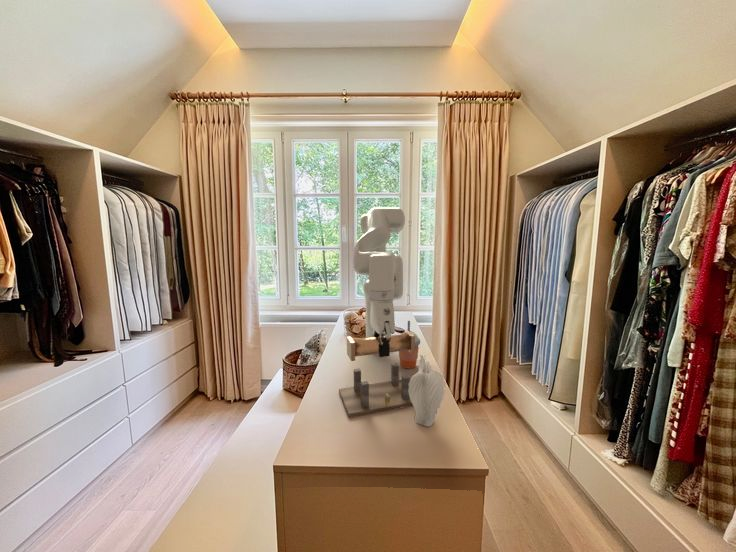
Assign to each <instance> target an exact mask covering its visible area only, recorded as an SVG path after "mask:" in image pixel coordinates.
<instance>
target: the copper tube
mask: <svg viewBox="0 0 736 552" xmlns="http://www.w3.org/2000/svg"><path fill="white" fill-rule="evenodd" d="M403 332H404V334H401V333H400V334H401V335H400V334H391V336H392V338H391V340H390V353H395V352H399V351H405V350H408V351H409V352H410V353H415V336H414V335H413V334H412V333H410V332H409V331H408V330H404V331H403ZM382 337H383V338H385V336H382ZM379 344H380V336H379V337H373V338H366V337H365V338H357V339H354V338H352V336H347V337H346V355H347V356H348V358H349V360H350V362H355V361H356V357H361V356H363V357H364V356H370V355H371V356H372V355H379Z"/></svg>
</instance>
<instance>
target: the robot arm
mask: <svg viewBox="0 0 736 552" xmlns="http://www.w3.org/2000/svg"><path fill="white" fill-rule="evenodd" d="M359 221H360V229H361V232H362V236H360V237H359V239H357V241H356V242H355V244H354V249H353V259H352V260H353V261H352V264H353V269H354V271H355V273H356V274H357V275H359V276H360V275H361V276H368V279H367V280H365V282H364V284H363V294H364V304H365V338H373V337H379V336H380V344H379V354H378V357H379V358H386V357H390V353H391V352H390V340H391V338H392V335H395V331H396V329H395V328H396V326H395V325H396V323H395V308H394V302H393V301H394V300H396V301H397V300H400V299H402V298H403V294H404V263H403V258H402V257H401V255H400V254H397V253H394V252H392V251H387V250H386V249H387V244H388V243H389V241H390V239H391V236H392V235H391V234H399V233H400V232H401V231H402V230H403V228H404V226H405V224H406V223H405V222H406V217H405V214H404V210H403V209H402V208H400V207H397V206H396V207H395V206H394V207H393V206H392V207H391V206H389V207H388V206H386V207H385V206H384V207H382V206H379V207H378V206H377V207H373V208H371V209H370V210H369V211H368V212H367V213H365V214H363V215H362V216H360V219H359ZM382 336H385V338H383V337H382Z"/></svg>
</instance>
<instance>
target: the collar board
mask: <svg viewBox="0 0 736 552" xmlns="http://www.w3.org/2000/svg"><path fill="white" fill-rule="evenodd" d="M390 367H391V368H390V369H391V370H390V371H391V372H390V373H391V374H390V376H391V377H390V378H391V379H390V380H389V381H382V382H377V383H376V382H375V383H369V382H368V380H365V381H364V380H363V381H362V370H361V369H360V368H354V369H353V386H350V387H343V388H339V389H338V394H339V395H340V398H341V401H342V404H343V406H344V408H345V412H346V413H347V417H348V418H353V417H359V416H364V415H370V414H371V415H372V414H376V413H381V412H387V411H391V410H397V409H402V408H408V407H414V406H413V404H412V402H411V400H410V396H409V392H408V389H409V385H408V384H409V382H410V380H411V377H410V376H409V375H408V374H405V375H401V379H400V364H398V363H391V366H390Z"/></svg>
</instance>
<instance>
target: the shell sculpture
mask: <svg viewBox="0 0 736 552" xmlns="http://www.w3.org/2000/svg"><path fill="white" fill-rule="evenodd" d="M418 367H419V368H418V370H417V372H416V373H415V374H413V375H412V376H411V377H410V382H409V384H408V385H409V389H408V392H409V396H410V400H411V402H412V404H413V406H412V407H413V408H414V411H415V416H414V423H416V424H419V425H421V426H425V427H431V426H432V425H433V423H434V421H435V418H436V415H437V414H438V412H439V411H438V410H439V409H440V405H441V402H442V401H443V398H444V395H445V387H446V382H445V376H444V375H443V374H442V373H441V372H439V371H437V370H435V369H434V368H432V366H431V365H430V363H429V361H428V360H427V359H426V356H425V355H423V354H420V359H419V366H418Z"/></svg>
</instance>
